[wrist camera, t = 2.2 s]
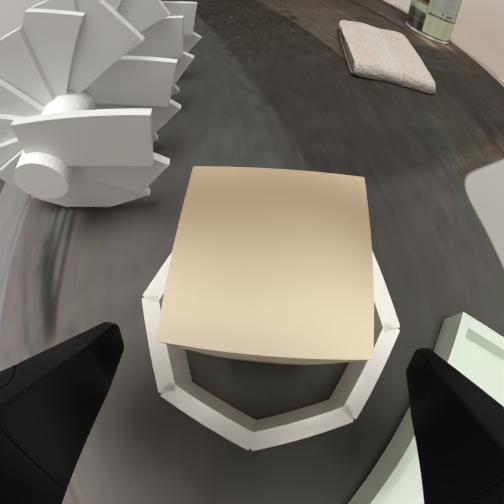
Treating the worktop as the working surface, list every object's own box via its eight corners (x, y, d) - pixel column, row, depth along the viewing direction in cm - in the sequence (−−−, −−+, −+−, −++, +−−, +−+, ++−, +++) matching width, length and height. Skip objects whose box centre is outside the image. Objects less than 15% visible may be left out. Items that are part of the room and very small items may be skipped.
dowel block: (303, 365, 16) (372, 359, 5) (229, 359, 17) (156, 341, 6) (308, 294, 18) (364, 177, 7) (237, 289, 18) (193, 166, 7)
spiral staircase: (83, 253, 25) (127, 89, 33) (233, 194, 17) (232, 24, 25) (-74, 188, 9) (39, 24, 18) (-35, 1, 2) (139, -74, 10)
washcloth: (400, 43, 33) (403, 29, 31) (435, 101, 27) (443, 83, 24) (334, 29, 34) (335, 14, 32) (350, 80, 28) (354, 60, 25)
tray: (442, 565, 6) (454, 575, 4) (300, 554, 10) (304, 572, 8) (544, 380, 13) (561, 378, 10) (443, 319, 16) (463, 311, 14)
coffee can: (398, 24, 37) (409, -30, 24) (414, 20, 39) (424, -26, 26) (442, 47, 34) (459, -7, 21) (452, 41, 36) (467, -5, 23)
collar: (306, 461, 14) (315, 480, 10) (133, 356, 17) (107, 352, 14) (398, 286, 18) (421, 269, 14) (236, 203, 21) (230, 173, 18)
